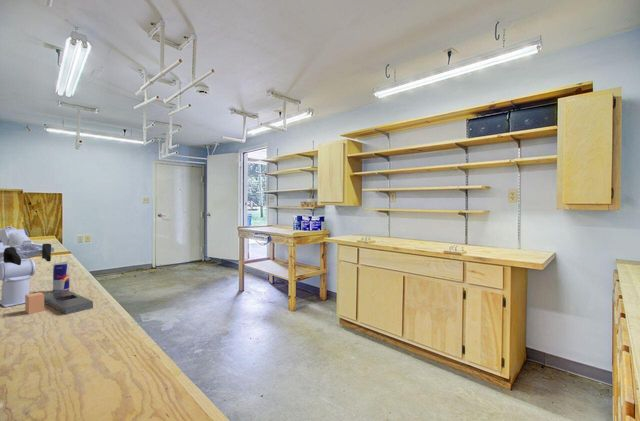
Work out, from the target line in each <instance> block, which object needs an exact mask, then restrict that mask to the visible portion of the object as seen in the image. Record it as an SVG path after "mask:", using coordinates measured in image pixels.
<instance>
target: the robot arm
mask: <svg viewBox="0 0 640 421" xmlns="http://www.w3.org/2000/svg"><path fill="white" fill-rule="evenodd" d="M54 252H55V246H54V245H52V244H50V243H36V242H33V241H32V240H31V239H30V237H29V232H28V230H27V228H20V229H19V228H16V227H13V226H9V225H8V226H5V227H4V228H0V281H2V284H1V300H0V305H1V306H3V308H7V307H12V306H18V305H22V304H25V295H27V294H31V293H30V292H31V291H30V285H31V284H30V283H31V282H30V280H31V279H32V277H33V276H34V275H35V274H36V270H37V269H36V268H37V267H36V263H35V261H34V260H33V259H31V258H35V257H37V256H40V255H41V259H43V260H45V261H46V262H52V261H51V260H52V256H51V254H52V253H54Z"/></svg>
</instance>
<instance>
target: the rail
mask: <svg viewBox="0 0 640 421" xmlns="http://www.w3.org/2000/svg"><path fill="white" fill-rule="evenodd" d="M43 294H44V304H46V305H48V306H49V307H51V308H53V309H56V310H57V311H59V312H61V313H62V314H64V315H69V314H75V313H78V312H81V311H83V312H84V311H86V310H91V309H94V301H93V300H91V299H89V298H86V297H85V296H82V295H80V294H78V293H75V292H74V291H71V290H70V289H69V290H64V291H59V292H48V293H43Z"/></svg>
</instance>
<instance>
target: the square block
mask: <svg viewBox="0 0 640 421" xmlns="http://www.w3.org/2000/svg"><path fill="white" fill-rule="evenodd" d="M44 294H45V293H43V292H41V291H39V292H34V293H30V294H27V295H25V303H24V305H25V306H24V307H25V308H24V310H25V313H26V314H28V315H32V314H37V313H42V312H45V303H44Z"/></svg>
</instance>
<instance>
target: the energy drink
mask: <svg viewBox="0 0 640 421" xmlns="http://www.w3.org/2000/svg"><path fill="white" fill-rule="evenodd" d="M64 290H69V291H70V263H69V262H68V261H64V262H63V261H61V262H55V263H53V266H52V293H54V292H59V291H64Z"/></svg>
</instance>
